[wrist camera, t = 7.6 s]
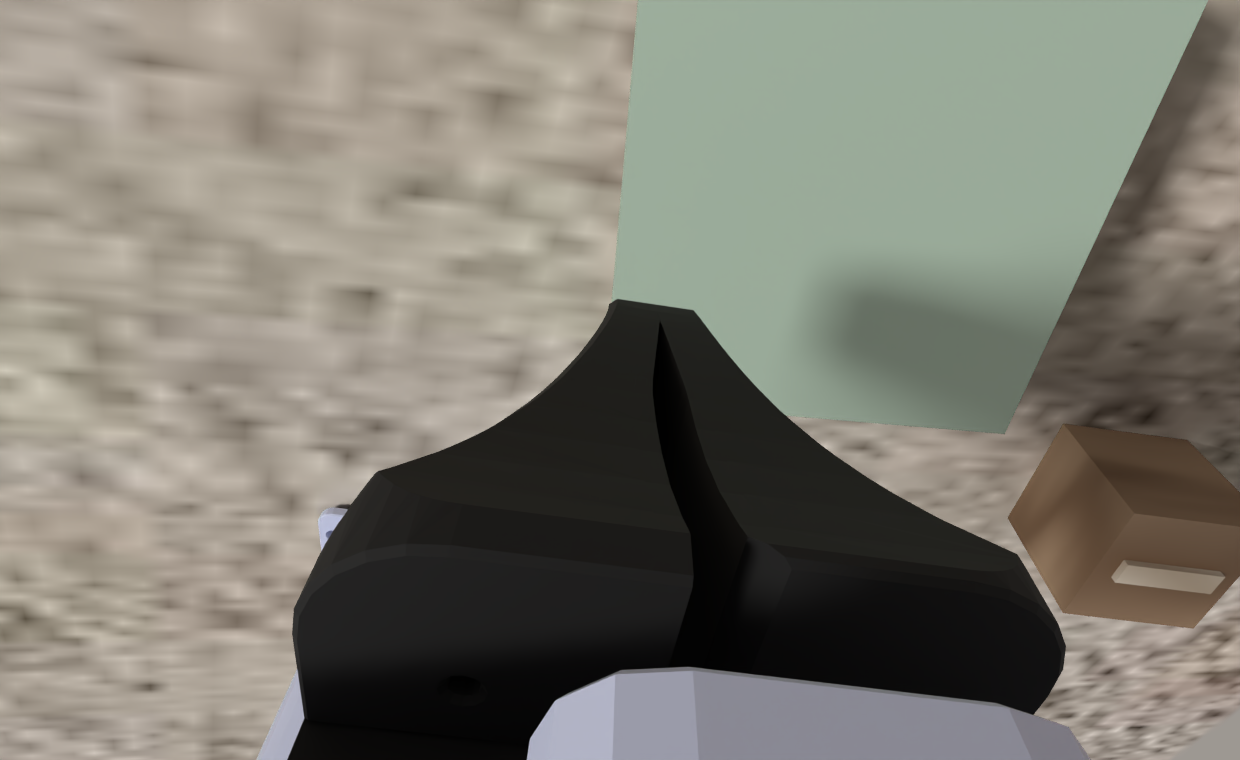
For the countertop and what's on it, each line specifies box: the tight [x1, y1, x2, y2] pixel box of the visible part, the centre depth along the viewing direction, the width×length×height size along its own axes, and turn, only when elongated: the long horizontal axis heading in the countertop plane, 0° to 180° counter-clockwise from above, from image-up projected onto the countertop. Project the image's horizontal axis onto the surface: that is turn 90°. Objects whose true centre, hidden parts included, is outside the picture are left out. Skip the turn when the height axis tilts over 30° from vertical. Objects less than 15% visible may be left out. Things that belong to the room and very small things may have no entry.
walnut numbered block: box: [1008, 424, 1240, 628], centre depth 22 cm, size 4×4×4 cm
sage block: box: [612, 0, 1208, 434], centre depth 17 cm, size 10×10×4 cm
